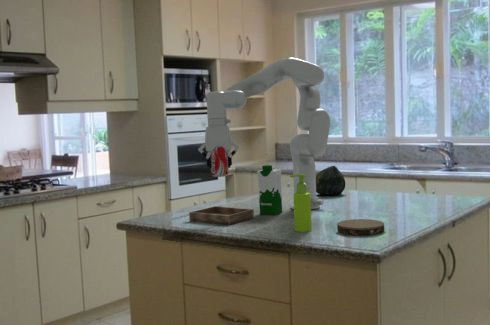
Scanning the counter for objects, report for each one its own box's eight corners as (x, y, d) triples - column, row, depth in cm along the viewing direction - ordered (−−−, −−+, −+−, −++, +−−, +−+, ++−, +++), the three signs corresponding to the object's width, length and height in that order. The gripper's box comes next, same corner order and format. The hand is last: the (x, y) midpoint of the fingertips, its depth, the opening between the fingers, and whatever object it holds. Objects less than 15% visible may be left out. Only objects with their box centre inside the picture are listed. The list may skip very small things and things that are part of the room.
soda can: (226, 177, 241) (225, 146, 240) (209, 177, 243) (207, 146, 241) (230, 174, 248) (229, 144, 247) (213, 175, 249) (212, 145, 248)
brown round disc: (383, 227, 221) (382, 218, 220) (385, 236, 205) (385, 227, 205) (337, 227, 223) (337, 219, 223) (337, 237, 208) (336, 228, 207)
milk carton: (256, 214, 255) (254, 166, 253) (266, 210, 262) (264, 163, 261) (276, 215, 250) (274, 166, 249) (285, 211, 258) (283, 164, 257)
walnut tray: (253, 218, 247) (253, 209, 247) (228, 225, 234) (228, 216, 234) (215, 214, 259) (215, 206, 259) (189, 220, 247) (189, 212, 246)
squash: (308, 182, 308) (315, 161, 298) (336, 181, 312) (344, 160, 301) (315, 204, 299) (323, 183, 288) (344, 203, 302) (353, 182, 292)
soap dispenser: (290, 229, 222) (288, 173, 220) (309, 228, 222) (307, 172, 221) (293, 232, 216) (291, 175, 214) (312, 231, 217) (311, 174, 215)
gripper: (238, 121, 248) (240, 166, 250) (194, 123, 246) (196, 168, 248) (240, 122, 241) (242, 167, 242) (195, 124, 239) (198, 170, 240)
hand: (219, 167), depth 245 cm, fingers closed on soda can, 7 cm apart
